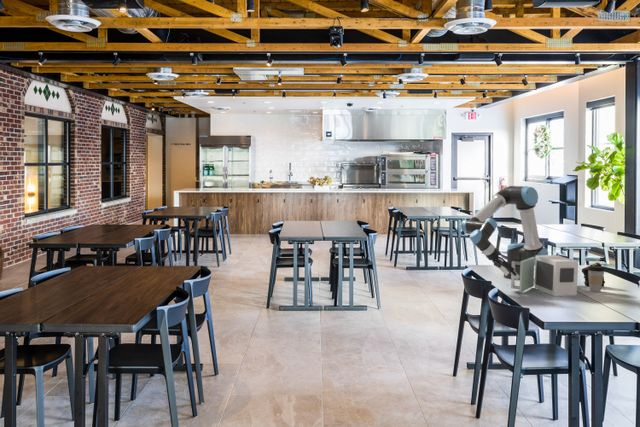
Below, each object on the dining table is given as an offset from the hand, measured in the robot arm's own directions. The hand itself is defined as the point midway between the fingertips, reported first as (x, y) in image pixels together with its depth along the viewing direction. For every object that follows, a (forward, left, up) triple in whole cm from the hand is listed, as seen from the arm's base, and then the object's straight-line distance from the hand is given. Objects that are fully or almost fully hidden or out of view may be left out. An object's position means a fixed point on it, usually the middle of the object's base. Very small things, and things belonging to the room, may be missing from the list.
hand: (513, 276), depth 332 cm
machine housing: (+24, +8, -9) cm, 26 cm away
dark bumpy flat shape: (+46, +34, -9) cm, 58 cm away
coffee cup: (+46, +18, -9) cm, 50 cm away
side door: (+5, +4, -8) cm, 10 cm away
